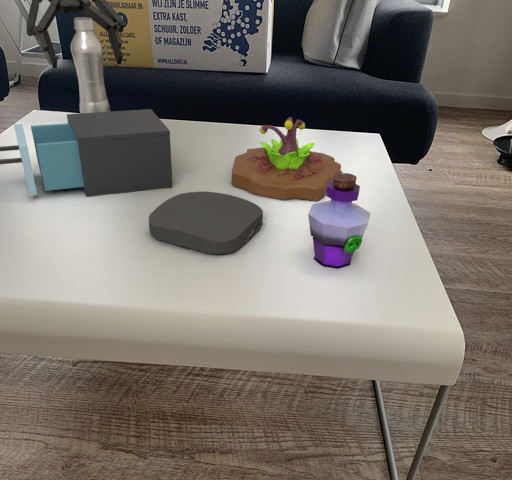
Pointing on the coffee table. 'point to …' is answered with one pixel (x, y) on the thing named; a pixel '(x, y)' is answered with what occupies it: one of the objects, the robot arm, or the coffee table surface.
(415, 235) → the coffee table surface
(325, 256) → the potion bottle
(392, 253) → the coffee table surface
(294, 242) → the coffee table surface
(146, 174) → the cabinet
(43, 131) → the drawer
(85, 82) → the plastic bottle
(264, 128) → the plant
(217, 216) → the media streaming box
